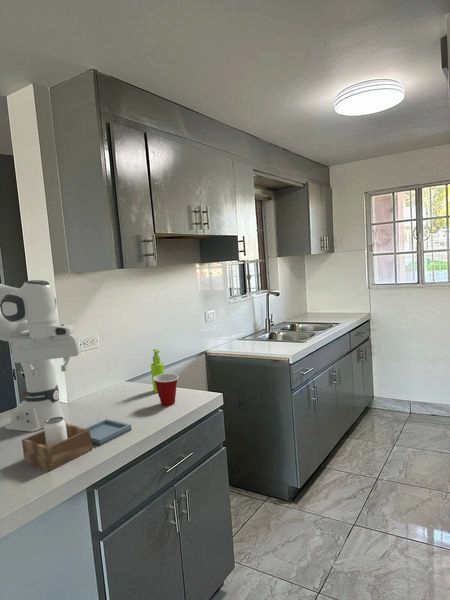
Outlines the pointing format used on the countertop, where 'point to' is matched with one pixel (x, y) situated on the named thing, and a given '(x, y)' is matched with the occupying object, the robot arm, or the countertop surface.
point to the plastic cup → (166, 388)
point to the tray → (107, 431)
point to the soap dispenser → (156, 367)
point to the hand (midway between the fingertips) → (49, 372)
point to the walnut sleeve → (57, 448)
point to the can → (55, 430)
